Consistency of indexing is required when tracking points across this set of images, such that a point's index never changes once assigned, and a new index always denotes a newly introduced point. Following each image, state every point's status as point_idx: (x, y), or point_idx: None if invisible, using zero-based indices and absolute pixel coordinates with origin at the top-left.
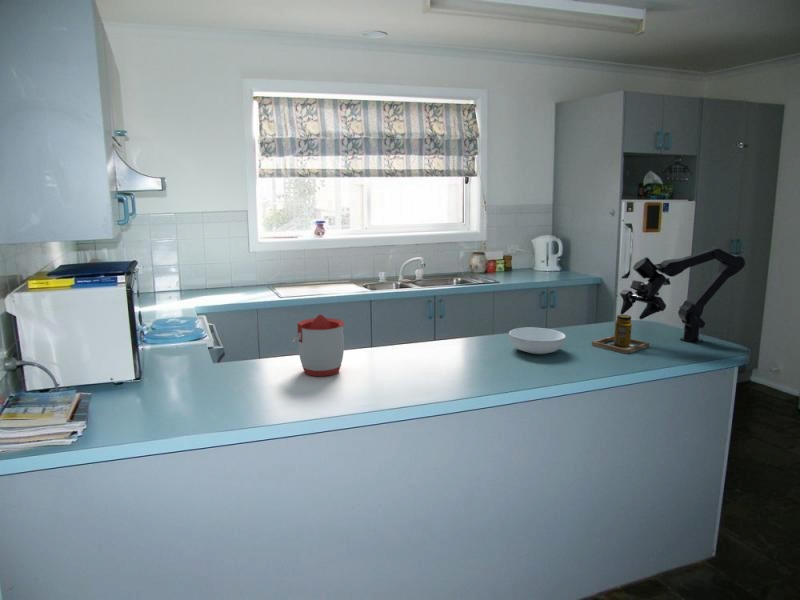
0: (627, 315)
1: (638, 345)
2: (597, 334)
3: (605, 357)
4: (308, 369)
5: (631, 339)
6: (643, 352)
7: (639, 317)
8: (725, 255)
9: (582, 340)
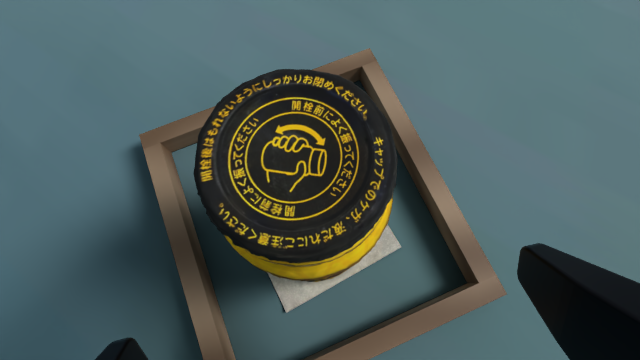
0: (319, 231)
1: (195, 282)
2: (626, 238)
3: (148, 17)
4: None
5: (357, 342)
6: (134, 269)
7: (119, 341)
8: None
9: (478, 68)
